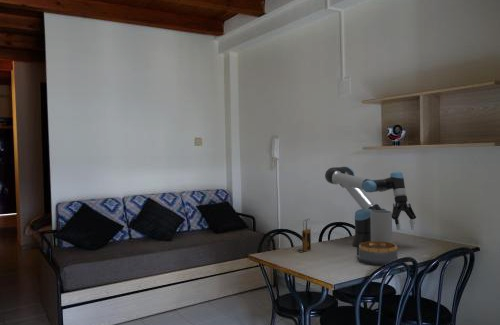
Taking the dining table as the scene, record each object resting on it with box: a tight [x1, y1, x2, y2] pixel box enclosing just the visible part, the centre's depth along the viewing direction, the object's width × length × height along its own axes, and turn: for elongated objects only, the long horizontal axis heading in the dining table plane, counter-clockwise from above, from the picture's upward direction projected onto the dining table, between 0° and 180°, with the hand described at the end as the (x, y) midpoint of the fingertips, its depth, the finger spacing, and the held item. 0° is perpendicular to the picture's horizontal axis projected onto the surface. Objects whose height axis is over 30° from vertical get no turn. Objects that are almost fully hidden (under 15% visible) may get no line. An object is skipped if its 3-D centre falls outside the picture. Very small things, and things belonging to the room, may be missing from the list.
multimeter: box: [296, 218, 312, 254], centre depth 278 cm, size 15×10×20 cm
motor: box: [356, 241, 399, 267], centre depth 248 cm, size 24×21×9 cm
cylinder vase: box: [370, 209, 393, 243], centre depth 265 cm, size 12×12×25 cm
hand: (406, 229), depth 270 cm, fingers open, 13 cm apart
